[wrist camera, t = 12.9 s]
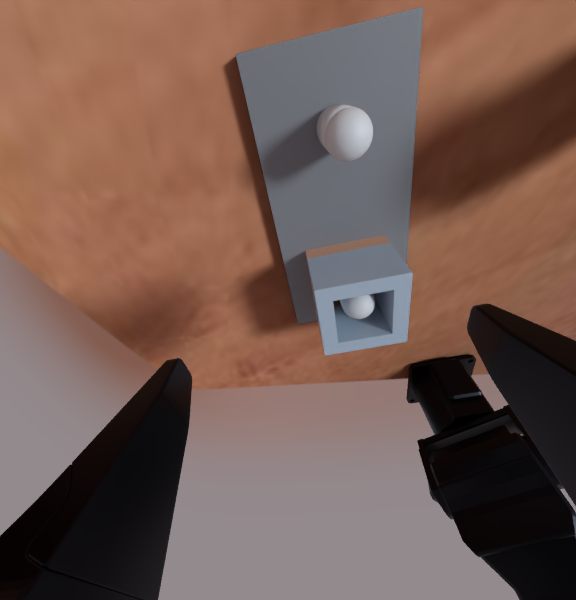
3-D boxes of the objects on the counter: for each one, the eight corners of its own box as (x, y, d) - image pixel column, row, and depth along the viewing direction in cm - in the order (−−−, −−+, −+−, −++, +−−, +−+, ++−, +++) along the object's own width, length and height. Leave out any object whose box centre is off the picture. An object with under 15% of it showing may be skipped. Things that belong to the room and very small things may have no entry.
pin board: (400, 299, 25) (427, 344, 21) (297, 318, 25) (303, 365, 21) (416, 9, 14) (480, -22, 10) (236, 55, 15) (224, 44, 10)
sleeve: (383, 297, 24) (406, 341, 20) (315, 310, 24) (325, 355, 20) (384, 234, 20) (412, 272, 16) (305, 250, 21) (314, 290, 17)
